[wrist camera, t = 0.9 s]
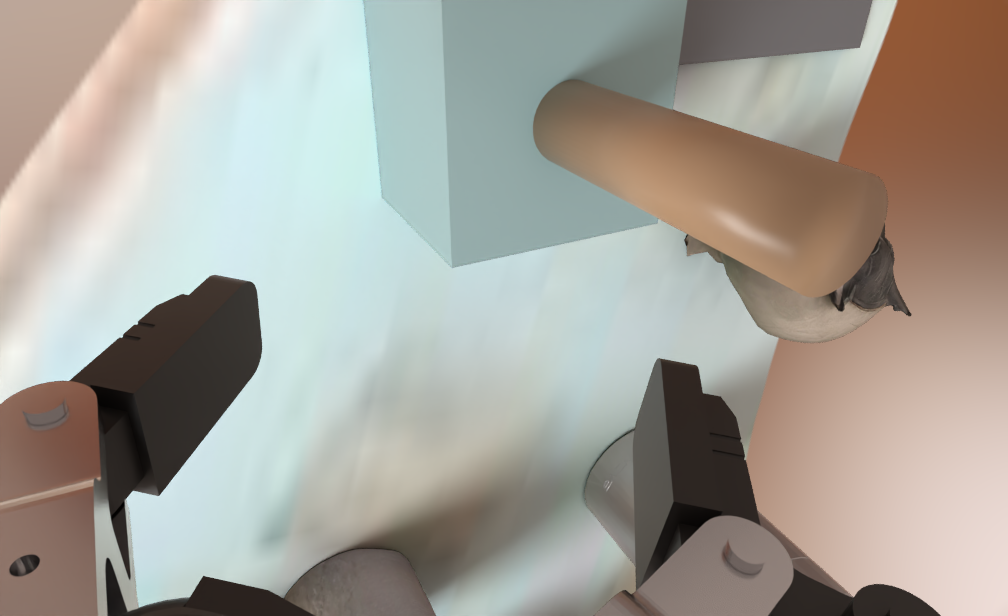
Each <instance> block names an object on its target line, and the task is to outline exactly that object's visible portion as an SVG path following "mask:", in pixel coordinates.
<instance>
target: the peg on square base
mask: <svg viewBox="0 0 1008 616" xmlns="http://www.w3.org/2000/svg"><path fill="white" fill-rule="evenodd" d="M686 6H687V0H364V10H365V21H366V31H367V42H368V53H369V64H370V74H371V85H372V96H373V106H374V117H375V128H376V139H377V149H378V160H379V171H380V181H381V192H382V198H383V199H384V200H385V201H386V202H387V203H388V204H389V205H390V206H391V207H392V208H393V209H394V210H395V211H396V212H397V213H398V214H399V215H400V216H401V217H402V218H403V219H404V220H405V221H406V222H407V223H408V224H409V225H410V226H411V227H412V228H413V229H414V230H415V231H416V232H417V233H418V234H419V235H420V236H421V237H422V238H423V239H424V240H425V241H426V242H427V243H428V244H429V245H430V246H431V247H432V248H433V249H434V250H435V251H436V252H437V253H438V254H439V255H440V256H441V258H442V259H443V260H444V261H445V262H446V263H447V264H448V265H449V266H450V267H451V268H454V267H458V266H463V265H468V264H472V263H477V262H481V261H486V260H491V259H495V258H500V257H504V256H509V255H514V254H518V253H523V252H527V251H532V250H537V249H541V248H546V247H551V246H555V245H560V244H564V243H569V242H574V241H578V240H583V239H587V238H592V237H597V236H601V235H606V234H611V233H615V232H620V231H624V230H629V229H634V228H638V227H643V226H647V225H652V224H657V223H658V219H660V220H662V221H664V222H666V223H668V224H670V225H671V226H673V227H675V228H677V229H679V230H681V231H683V232H685V233H687V234H688V235H690V236H692V237H694V238H696V239H698V240H700V241H702V242H703V243H705V244H707V245H709V246H711V247H713V248H715V249H717V250H719V251H720V252H722V253H724V254H726V255H728V256H730V257H732V258H734V259H736V260H737V261H739V262H741V263H743V264H745V265H747V266H749V267H751V268H752V269H754V270H756V271H758V272H760V273H762V274H764V275H766V276H768V277H769V278H771V279H773V280H775V281H777V282H779V283H781V284H783V285H785V286H786V287H788V288H790V289H792V290H794V291H796V292H798V293H800V294H801V295H804V296H806V297H812V298H814V297H821V296H824V295H827V294H829V293H831V292H833V291H835V290H837V289H838V288H840V287H841V286H842V285H844V284H845V283H846V282H847V281H848V280H850V279H851V278H852V277H853V276H854V275H855V274H856V272H857V271H858V270H859V269H860V268H861V267H862V265H863V264H864V263H865V261H866V260H867V259H868V257H869V256H870V254H871V252H872V251H873V249H874V247H875V245H876V243H877V241H878V239H879V237H880V235H881V232H882V229H883V227H884V223H885V220H886V214H887V208H888V196H887V190H886V187H885V185H884V183H883V181H882V180H881V179H880V178H879V177H878V176H876V175H874V174H872V173H869V172H866V171H862V170H859V169H856V168H853V167H849V166H846V165H844V164H840V163H837V162H834V161H831V160H828V159H825V158H822V157H819V156H816V155H812V154H809V153H806V152H803V151H800V150H797V149H794V148H791V147H787V146H784V145H781V144H778V143H775V142H772V141H769V140H766V139H762V138H759V137H756V136H753V135H750V134H747V133H744V132H741V131H737V130H734V129H731V128H728V127H725V126H722V125H719V124H716V123H712V122H709V121H706V120H703V119H700V118H697V117H694V116H691V115H687V114H684V113H681V112H678V111H675V110H673V104H674V96H675V89H676V81H677V74H678V66H679V59H680V51H681V44H682V36H683V29H684V21H685V14H686Z"/></svg>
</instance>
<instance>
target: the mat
mask: <svg viewBox="0 0 1008 616" xmlns="http://www.w3.org/2000/svg"><path fill="white" fill-rule="evenodd" d="M871 3H872V0H687V6H686V14H685V21H684V29H683V36H682V44H681V51H680V59H679V65H683V64H693V63H704V62H714V61H725V60H735V59H746V58H756V57H767V56H777V55H788V54H798V53H809V52H819V51H830V50H840V49H851V48H860V45H861V41H862V37H863V34H864V30H865V26H866V22H867V18H868V15H869V11H870V7H871Z"/></svg>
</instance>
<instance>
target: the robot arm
mask: <svg viewBox="0 0 1008 616" xmlns="http://www.w3.org/2000/svg"><path fill="white" fill-rule="evenodd" d="M261 353H262V339H261V329H260V318H259V308H258V298H257V290H256V287H255V285H254V284H253V283H252V282H249V281H244V280H239V279H234V278H228V277H223V276H218V275H212V276H210V277H209V278H207V279H206V280H205V281H204V282H203V283H202V284H201V285H200V286H198V287H197V288H196V289H195V290H194V291H193V292H192V293H191V294H190V295H184V294H181V295H179V296H177V297H175V298H173V299H170V300H168V301H166V302H164V303H162V304H159V305H157V306H156V307H154V308H153V309H152V310H151V311H150V312H149V313H147V314H146V315H145V316H144V317H143V318H142V319H141V320H139V321H138V325H134V326H132V327H131V328H130V329H129V330H128V331H127V332H125V333H124V334H123V338H118V339H117V340H116V341H115V342H114V343H113V344H112V345H110V346H109V347H108V348H107V349H106V350H105V351H103V352H102V353H101V354H100V355H99V356H98V357H96V358H95V359H94V360H93V361H92V362H91V363H89V364H88V365H87V366H86V367H85V368H84V369H83V370H81V371H80V372H79V373H78V374H77V375H76V376H74V377H73V378H72V379H71V380H70V381H54V382H47V383H43V384H38V385H35V386H32V387H29V388H27V389H24V390H22V391H20V392H18V393H16V394H14V395H12V396H11V397H9V398H8V399H6V400H5V401H4V402H3V403H2V404H0V616H315V615H313V614H311V613H309V612H308V611H306V610H304V609H302V608H300V607H298V606H296V605H295V604H293V603H291V602H289V601H287V600H285V599H283V598H282V597H280V596H278V595H276V594H274V593H272V592H270V591H268V590H264V589H260V588H255V587H251V586H246V585H242V584H237V583H233V582H228V581H223V580H219V579H214V578H210V577H205V576H203V577H202V579H201V581H200V582H199V584H198V585H197V587H196V589H195V590H194V592H193V593H192V595H191V597H190V598H178V599H172V600H165V601H161V602H157V603H153V604H149V605H145V606H143V607H140V608H139V606H138V600H137V592H136V581H135V570H134V558H133V547H132V535H131V524H130V512H129V508H128V504H127V501H126V498H127V497H128V496H129V495H130V493H131V492H132V491H138V492H142V493H147V494H152V495H156V496H159V495H160V494H161V493H162V492H163V490H164V489H165V488H166V486H167V485H168V484H169V483H170V481H171V480H172V479H173V478H174V476H175V475H176V474H177V472H178V471H179V470H180V469H181V467H182V466H183V465H184V463H185V462H186V461H187V460H188V458H189V457H190V456H191V454H192V453H193V452H194V451H195V449H196V448H197V447H198V445H199V444H200V443H201V442H202V440H203V439H204V438H205V437H206V435H207V434H208V433H209V431H210V430H211V429H212V428H213V426H214V425H215V424H216V422H217V421H218V420H219V419H220V417H221V416H222V415H223V413H224V412H225V411H226V410H227V408H228V407H229V406H230V405H231V403H232V402H233V401H234V399H235V398H236V397H237V396H238V394H239V393H240V392H241V390H242V389H243V388H244V387H245V385H246V384H247V383H248V381H249V380H250V379H251V378H252V376H253V375H254V373H255V372H256V370H257V368H258V365H259V362H260V359H261ZM740 440H741V437H740V432H739V428H738V424H737V419H736V417H735V415H734V414H733V413H732V411H731V410H730V409H729V407H728V406H727V405H726V403H725V402H724V400H723V399H722V398H721V397H719V396H714V395H709V394H704V393H703V392H702V386H701V380H700V375H699V369H698V367H697V366H696V365H691V364H686V363H681V362H675V361H670V360H665V359H660V358H658V359H657V360H656V362H655V364H654V367H653V370H652V373H651V376H650V380H649V383H648V386H647V389H646V392H645V395H644V398H643V402H642V405H641V408H640V411H639V414H638V418H637V421H636V426H635V430H634V431H632V432H631V433H629V434H627V435H625V436H623V437H622V438H621V439H619V440H618V441H616V442H615V443H614V444H613V445H612V446H611V447H610V448H609V449H607V450H606V451H605V453H604V454H603V455H602V456H601V457H600V459H599V460H598V461H597V463H596V464H595V466H594V467H593V469H592V471H591V473H590V475H589V477H588V480H587V483H586V487H585V501H586V505H587V507H588V508H589V510H590V511H591V512H592V513H593V515H594V516H595V517H596V518H597V520H598V521H599V522H600V523H601V525H602V526H603V527H604V528H605V530H606V531H607V532H608V533H609V534H610V536H611V537H612V538H613V539H614V541H615V542H616V543H617V545H618V546H619V547H620V548H621V550H622V551H623V552H624V553H625V554H626V556H627V557H628V558H629V559H630V561H631V562H632V563H633V564H634V566H635V567H636V591H635V592H634V593H633V594H630V593H629V592H628V591H626V590H624V591H621V592H619V593H618V594H617V595H615V596H614V597H613V598H612V599H611V600H609V601H608V602H607V603H606V604H605V605H604V606H603V607H602V608H601V609H600V610H599V611H598V612H597V613H596V614H595V615H594V616H940V615H939V614H938V613H937V612H936V611H935V610H934V609H933V608H932V607H930V606H929V605H928V604H927V603H925V602H924V601H922V600H921V599H920V598H918V597H916V596H914V595H913V594H911V593H909V592H907V591H905V590H902V589H899V588H896V587H893V586H889V585H884V584H874V585H868V586H866V587H863V588H862V589H861V590H859V591H858V592H857V594H856V595H855V597H854V598H853V596H851V594H849V593H848V592H847V591H846V590H845V589H844V588H843V587H842V586H841V585H839V584H838V583H837V582H836V581H835V580H834V579H833V578H832V577H831V576H829V575H828V574H827V573H826V572H825V571H824V570H823V569H822V568H820V566H819V565H817V564H816V563H815V562H814V561H812V560H811V559H810V558H809V557H808V556H807V555H806V554H805V553H804V552H803V551H802V550H801V549H799V548H798V547H797V546H796V545H795V544H794V543H793V542H792V541H791V540H789V539H788V538H787V537H786V536H785V535H784V534H783V533H782V532H781V531H779V530H778V529H777V528H776V527H775V526H774V525H773V524H772V523H771V522H769V521H768V520H767V519H766V518H765V517H764V516H763V515H762V514H761V513H760V512H759V511H757V507H756V503H755V498H754V494H753V489H752V485H751V481H750V476H749V473H748V468H747V464H746V460H744V457H745V454H744V450H743V446H742V443H741V442H740Z"/></svg>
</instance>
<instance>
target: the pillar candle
mask: <svg viewBox="0 0 1008 616" xmlns="http://www.w3.org/2000/svg"><path fill="white" fill-rule="evenodd" d="M284 599H285V600H287V601H289V602H291V603H293V604H295V605H296V606H298V607H300V608H302V609H304V610H306V611H308V612H309V613H311V614H313V615H315V616H436V615H435V613H434V611H433V608H432V606H431V604H430V602H429V600H428V598H427V596H426V594H425V592H424V591H423V589H422V587H421V585H420V582H419V580H418V578H417V576H416V573H415V571H414V570H413V568H412V566H411V564H410V563H409V561H408V559H407V558H406V557H405V556H404V555H402V554H401V553H399V552H397V551H393V550H383V549H355V550H351V551H346V552H344V553H340V554H338V555H336V556H334V557H331V558H329V559H327V560H326V561H324V562H322V563H320V564H318V565H317V566H315V567H314V568H312V569H311V570H310V571H309V572H307V573H306V574H305V575H304V576H302V577H301V578H300V579H299V580H298V581H297V583H296V584H294V586H293V587H292V588H291V589H290V590H289V592H288V593H287V594H286V596H285V598H284Z"/></svg>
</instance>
